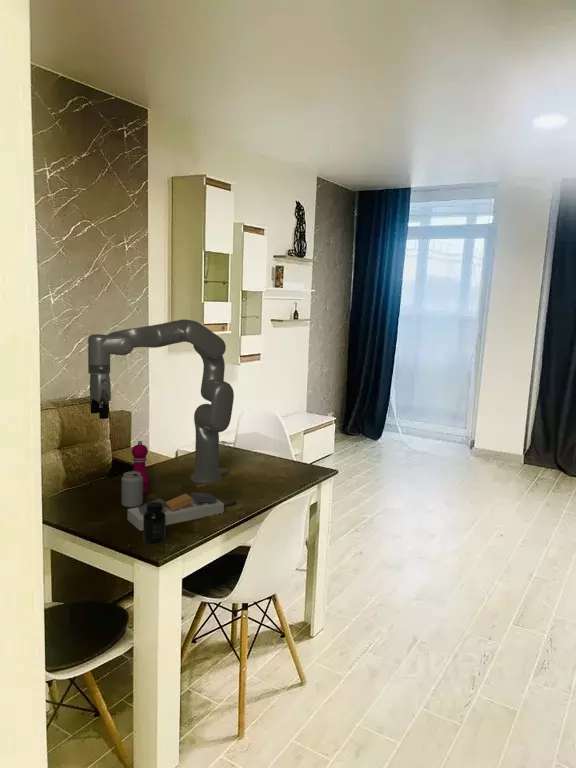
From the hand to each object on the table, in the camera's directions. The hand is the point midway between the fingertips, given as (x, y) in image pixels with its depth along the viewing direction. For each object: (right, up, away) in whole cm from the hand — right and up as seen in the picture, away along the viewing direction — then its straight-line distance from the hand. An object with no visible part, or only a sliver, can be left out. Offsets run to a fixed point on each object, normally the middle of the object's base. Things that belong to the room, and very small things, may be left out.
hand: (99, 415), depth 218 cm
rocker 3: (+39, -28, -6) cm, 48 cm away
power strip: (+33, -34, -7) cm, 48 cm away
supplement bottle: (+26, -38, -29) cm, 55 cm away
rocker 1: (+23, -30, -17) cm, 41 cm away
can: (+12, -33, -1) cm, 35 cm away
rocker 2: (+31, -29, -12) cm, 44 cm away
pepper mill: (+11, -30, +14) cm, 35 cm away
